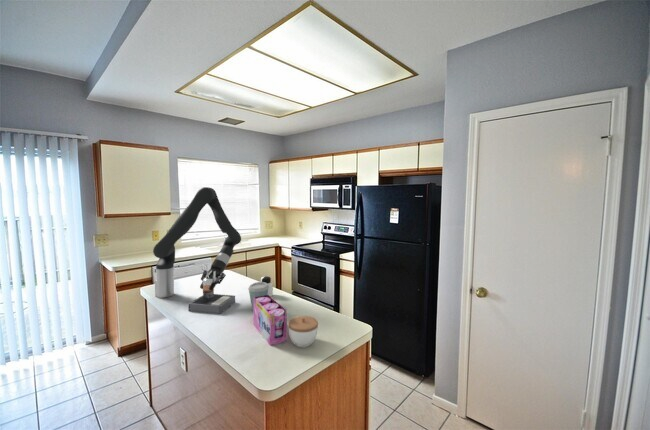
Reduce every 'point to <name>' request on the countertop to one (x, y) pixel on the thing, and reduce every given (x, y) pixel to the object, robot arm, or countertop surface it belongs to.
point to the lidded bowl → (303, 330)
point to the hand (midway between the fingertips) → (206, 289)
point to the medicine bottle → (268, 281)
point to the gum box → (270, 319)
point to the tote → (205, 304)
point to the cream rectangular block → (221, 300)
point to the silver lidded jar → (207, 287)
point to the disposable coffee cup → (257, 290)
